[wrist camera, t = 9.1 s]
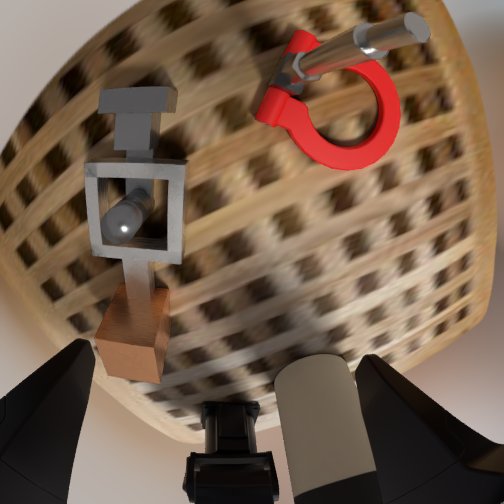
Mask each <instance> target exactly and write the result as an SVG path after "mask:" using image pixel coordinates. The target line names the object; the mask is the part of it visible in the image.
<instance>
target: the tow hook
mask: <svg viewBox="0 0 504 504" xmlns="http://www.w3.org/2000/svg"><path fill="white" fill-rule="evenodd" d="M430 36H431V33H430V28H429V26H428V24H427V22H426V21H425V20H424V19H423V18H422V17H421V16H420V15H419V14H417V13H414V12H408V13H406V14H403V15H400V16H397V17H394V18H392V19H389V20H386V21H384V22H381V23H379V24H376V25H374V24H371V23H360V24H358V25H356V26H354V27H352V28H350V29H348V30H346V31H344V32H342V33H341V34H339V35H337V36H335V37H333V38H331V39H329V40H328V41H326V42H324V43H320V42H318V41H316V37H315V36H314V35H312V34H310V33H309V32H306V31H303V30H296V31H295V33H294V35H293V37H292V39H291V41H290V43H289V45H288V47H287V49H286V51H285V53H284V55H283V57H282V58H280V60H279V62H278V64H277V66H276V68H275V71H274V73H273V75H272V77H271V79H270V81H269V83H268V90H267V92H266V94H265V96H264V98H263V101H262V103H261V105H260V107H259V110H258V112H257V114H256V117H255V120H257V121H258V122H260V123H263V124H265V125H268V126H270V127H276V126H277V125H278V126H280V127H282V128H285V129H287V130H288V133H289V135H290V137H291V139H292V140H293V141H294V142H295V144H296V145H297V146H298V147H299V149H300V150H301V151H302V152H304V153H305V154H306V155H308V156H309V157H310V158H311V159H313V160H314V161H316V162H318V163H320V164H323V165H325V166H327V167H330V168H332V169H340V170H355V169H362V168H364V167H366V166H368V165H371V164H373V163H375V162H376V161H377V160H379V159H380V158H381V157H382V156H383V155H385V154H386V152H387V151H388V150H389V148H390V147H391V145H392V144H393V143H394V140H395V138H396V135H397V133H398V130H399V125H400V117H401V111H400V101H399V97H398V94H397V91H396V88H395V85H394V83H393V81H392V80H391V78H390V77H389V75H388V73H387V72H386V71H385V69H384V68H383V67H382V66H381V65H380V64H379V63H378V62H376V61H375V60H379V59H382V58H384V57H385V56H387V54H388V52H389V50H390V49H395V48H399V47H404V46H409V45H414V44H419V43H424V42H427V41H429V39H430ZM339 69H347V70H351V71H353V72H355V73H357V74H359V75H360V76H362V77H363V78H364V79H365V80H366V81H367V82H368V83H369V84H370V86H371V87H372V89H373V90H374V92H375V95H376V97H377V100H378V106H379V116H378V122H377V124H376V127H375V129H374V131H373V132H372V134H371V135H370V136H369V137H368V138H367V139H366V140H364V141H363V142H362V143H360V144H357V145H355V146H349V147H340V146H335V145H333V144H331V143H329V142H327V141H326V140H325V139H324V138H323V137H321V136H320V135H319V133H318V132H317V131H316V129H315V128H314V127H313V124H312V122H311V120H310V117H309V114H308V107H307V106H306V105H305V104H304V103H302V102H300V101H298V100H296V99H294V98H292V97H290V96H293V95H298V94H301V92H302V90H303V88H304V86H305V84H307V83H311V82H314V81H318V80H320V78H321V77H322V74H325V73H329V72H332V71H335V70H339Z"/></svg>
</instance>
